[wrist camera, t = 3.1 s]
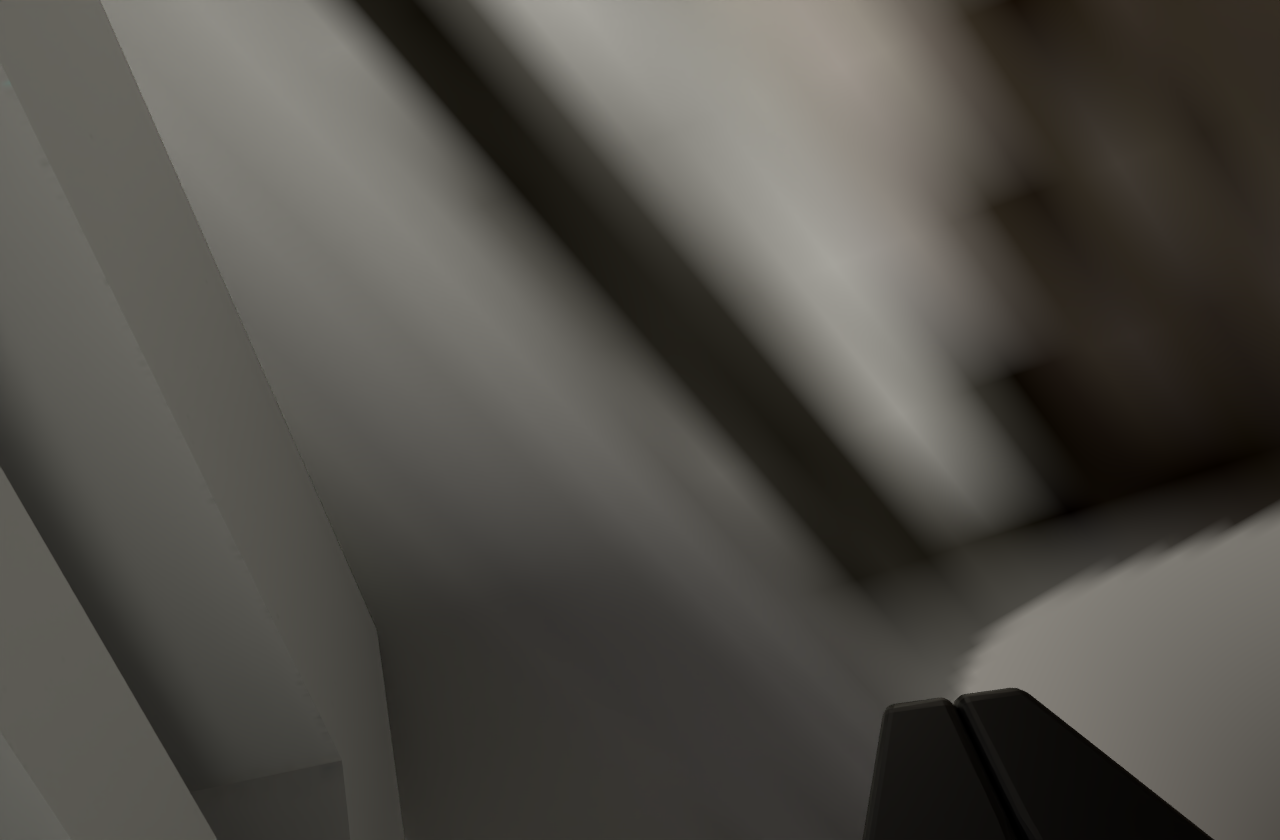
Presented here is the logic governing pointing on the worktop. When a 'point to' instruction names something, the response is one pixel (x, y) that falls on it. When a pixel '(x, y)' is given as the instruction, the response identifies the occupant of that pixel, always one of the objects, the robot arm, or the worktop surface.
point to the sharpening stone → (154, 503)
